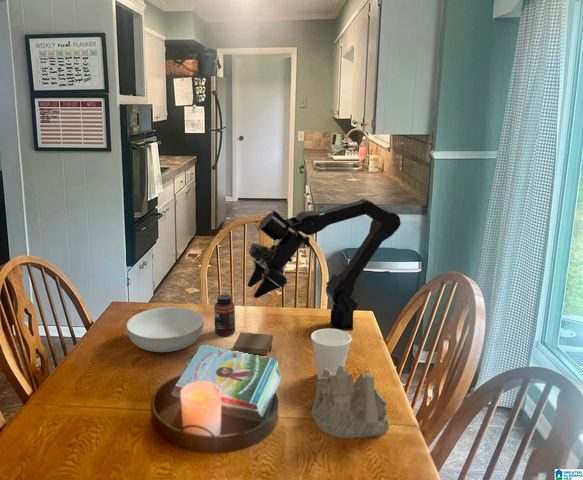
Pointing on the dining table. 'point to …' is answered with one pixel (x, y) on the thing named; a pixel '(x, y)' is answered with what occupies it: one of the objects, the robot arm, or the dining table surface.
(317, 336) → the cup
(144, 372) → the dining table surface
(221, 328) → the supplement bottle
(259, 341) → the dark brown coaster
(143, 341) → the serving bowl
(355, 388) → the grey castle model
